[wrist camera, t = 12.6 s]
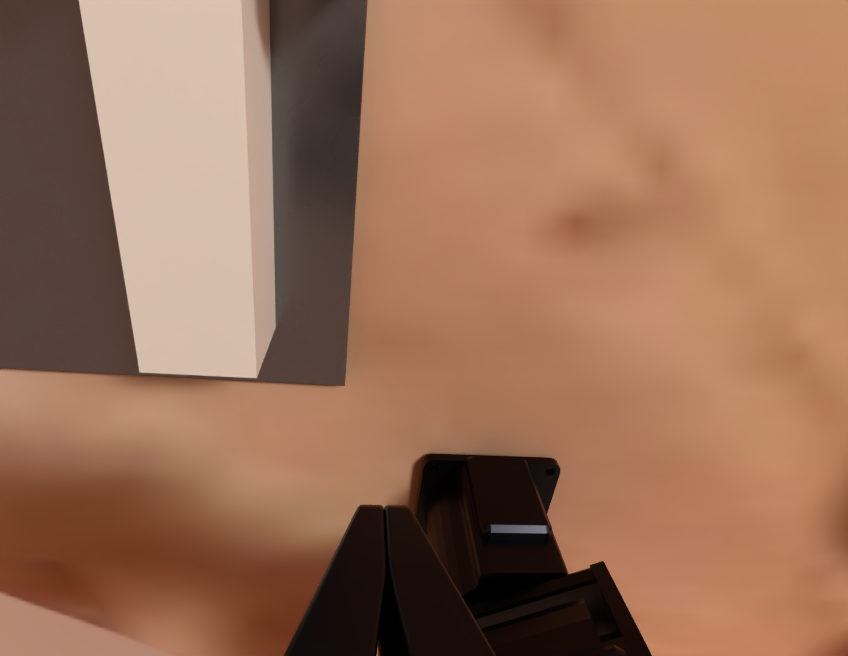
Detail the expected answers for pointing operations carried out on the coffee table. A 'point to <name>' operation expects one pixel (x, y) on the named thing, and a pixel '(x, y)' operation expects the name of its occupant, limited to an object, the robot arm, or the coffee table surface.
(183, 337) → the long cream bar
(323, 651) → the robot arm
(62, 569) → the coffee table surface
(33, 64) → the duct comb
